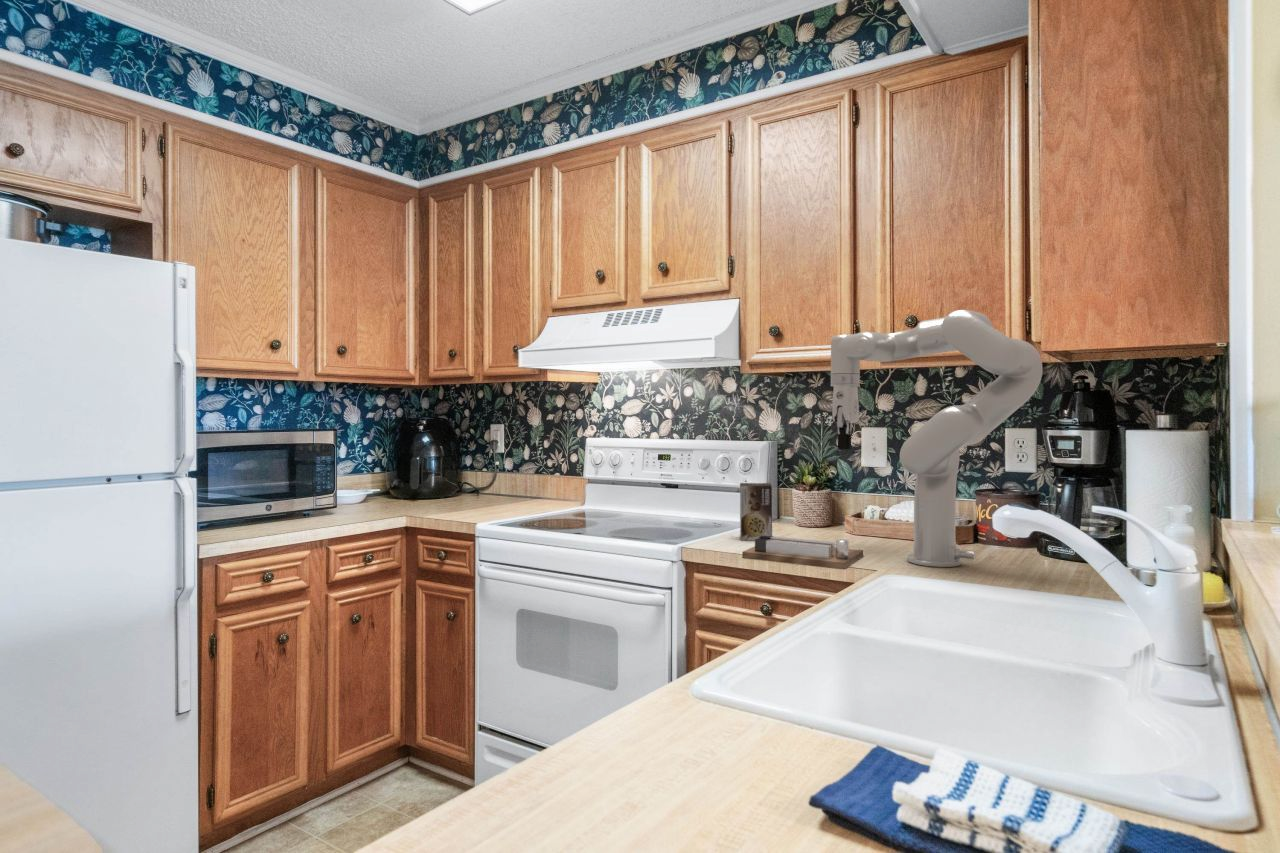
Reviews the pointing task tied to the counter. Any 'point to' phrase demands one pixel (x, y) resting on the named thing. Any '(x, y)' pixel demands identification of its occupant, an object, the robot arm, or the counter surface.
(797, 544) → the tongs fixed
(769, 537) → the arm
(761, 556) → the cutting board
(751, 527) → the printed cardboard box
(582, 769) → the counter surface
